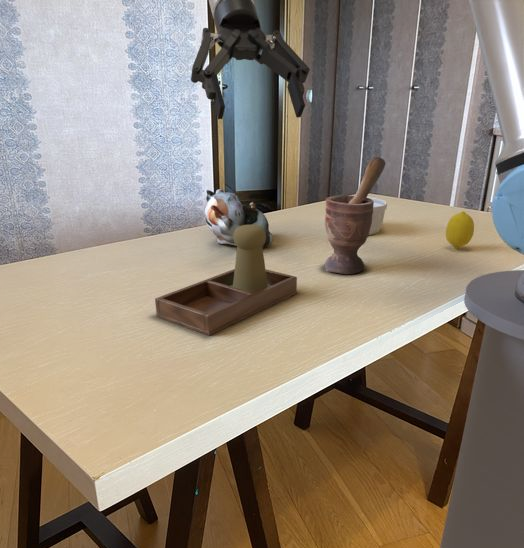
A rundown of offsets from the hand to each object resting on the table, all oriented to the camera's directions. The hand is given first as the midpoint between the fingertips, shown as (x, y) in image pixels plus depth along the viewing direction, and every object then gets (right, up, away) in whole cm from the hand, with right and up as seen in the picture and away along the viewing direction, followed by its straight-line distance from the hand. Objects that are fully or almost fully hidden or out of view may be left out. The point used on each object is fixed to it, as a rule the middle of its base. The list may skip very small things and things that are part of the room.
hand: (262, 112), depth 86 cm
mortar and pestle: (+17, -23, +17) cm, 33 cm away
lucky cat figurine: (-5, -16, +31) cm, 35 cm away
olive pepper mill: (-2, -29, +3) cm, 29 cm away
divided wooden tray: (-5, -31, -1) cm, 32 cm away
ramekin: (+23, -10, +42) cm, 49 cm away
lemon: (+42, -17, +28) cm, 53 cm away
